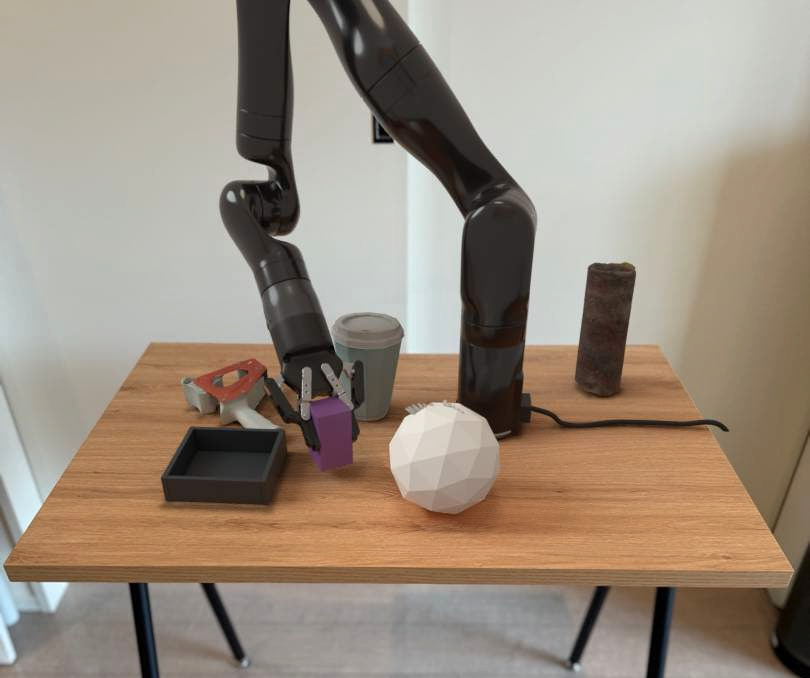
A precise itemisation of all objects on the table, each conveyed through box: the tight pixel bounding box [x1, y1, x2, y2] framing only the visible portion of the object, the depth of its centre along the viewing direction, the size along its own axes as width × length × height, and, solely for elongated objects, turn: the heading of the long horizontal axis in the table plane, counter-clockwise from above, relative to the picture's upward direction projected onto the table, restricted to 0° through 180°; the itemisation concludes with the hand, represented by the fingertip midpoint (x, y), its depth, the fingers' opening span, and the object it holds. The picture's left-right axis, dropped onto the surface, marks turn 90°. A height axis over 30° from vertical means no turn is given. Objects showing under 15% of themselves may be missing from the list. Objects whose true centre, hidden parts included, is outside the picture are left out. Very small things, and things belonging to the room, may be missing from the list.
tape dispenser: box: [180, 357, 284, 429], centre depth 121 cm, size 18×5×20 cm
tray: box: [160, 425, 288, 506], centre depth 107 cm, size 13×13×4 cm
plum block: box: [308, 396, 354, 472], centre depth 105 cm, size 4×4×8 cm
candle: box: [574, 261, 637, 397], centre depth 125 cm, size 8×7×20 cm
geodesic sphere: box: [388, 399, 501, 515], centre depth 100 cm, size 15×14×14 cm
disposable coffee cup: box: [330, 311, 405, 422], centre depth 119 cm, size 11×11×15 cm
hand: (335, 444), depth 104 cm, fingers closed on plum block, 4 cm apart
